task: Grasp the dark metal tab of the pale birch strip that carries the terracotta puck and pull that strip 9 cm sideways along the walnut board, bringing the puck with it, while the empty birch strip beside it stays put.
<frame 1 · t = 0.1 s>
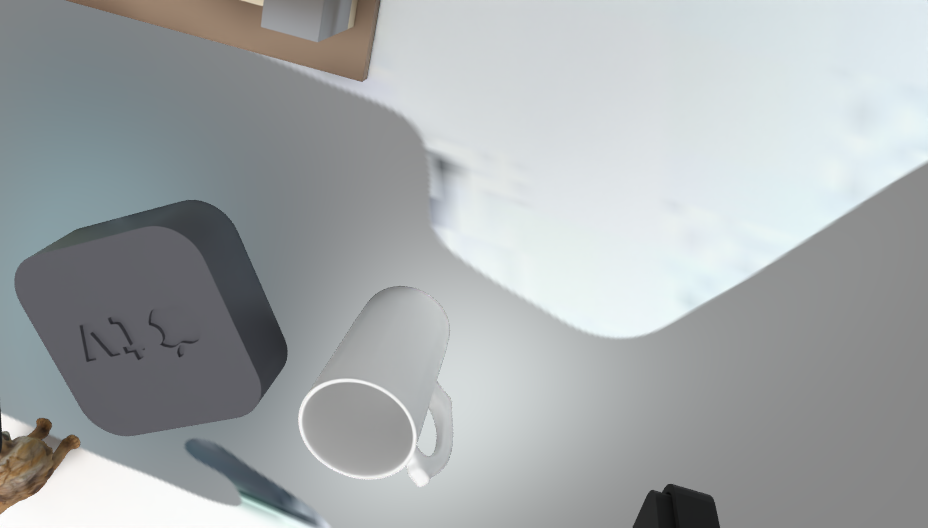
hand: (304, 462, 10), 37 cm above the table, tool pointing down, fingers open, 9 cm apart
mug: (421, 341, 53), on the table
streaming box: (178, 302, 55), on the table
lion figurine: (40, 442, 63), on the table
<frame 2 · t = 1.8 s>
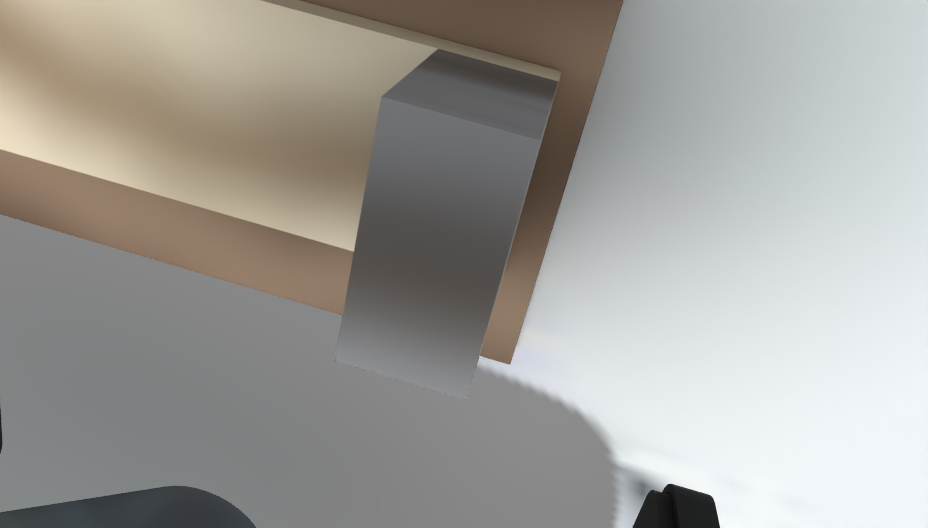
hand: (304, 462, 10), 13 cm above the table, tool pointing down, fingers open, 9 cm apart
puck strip: (81, 99, 18), point 4 cm above the table, slide at 0.0 cm, touching puck
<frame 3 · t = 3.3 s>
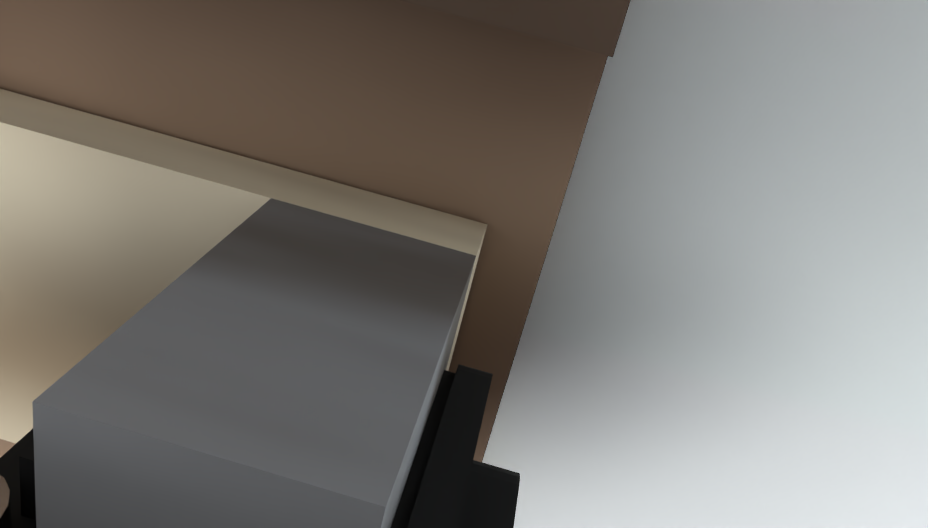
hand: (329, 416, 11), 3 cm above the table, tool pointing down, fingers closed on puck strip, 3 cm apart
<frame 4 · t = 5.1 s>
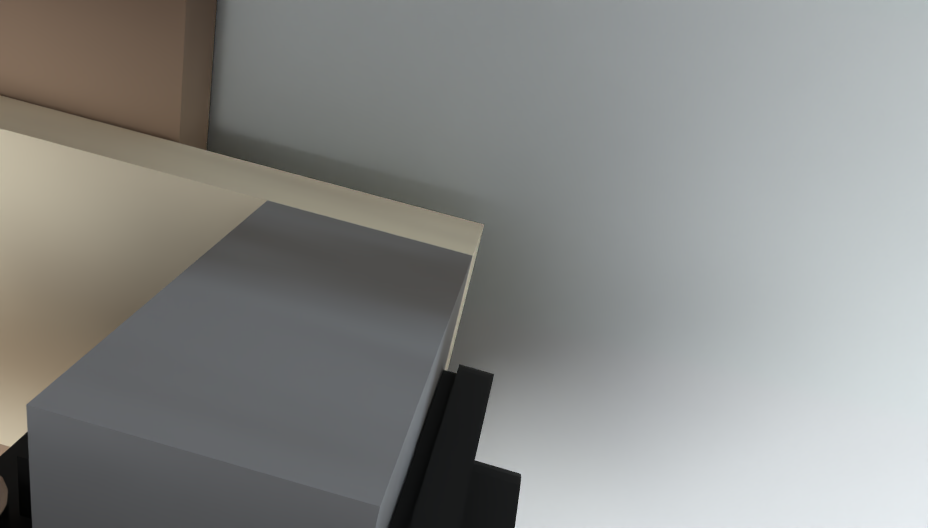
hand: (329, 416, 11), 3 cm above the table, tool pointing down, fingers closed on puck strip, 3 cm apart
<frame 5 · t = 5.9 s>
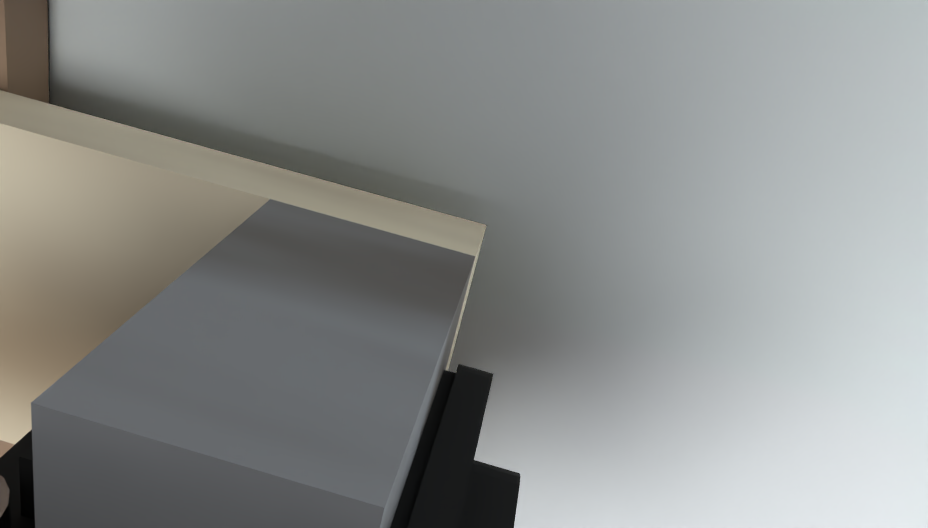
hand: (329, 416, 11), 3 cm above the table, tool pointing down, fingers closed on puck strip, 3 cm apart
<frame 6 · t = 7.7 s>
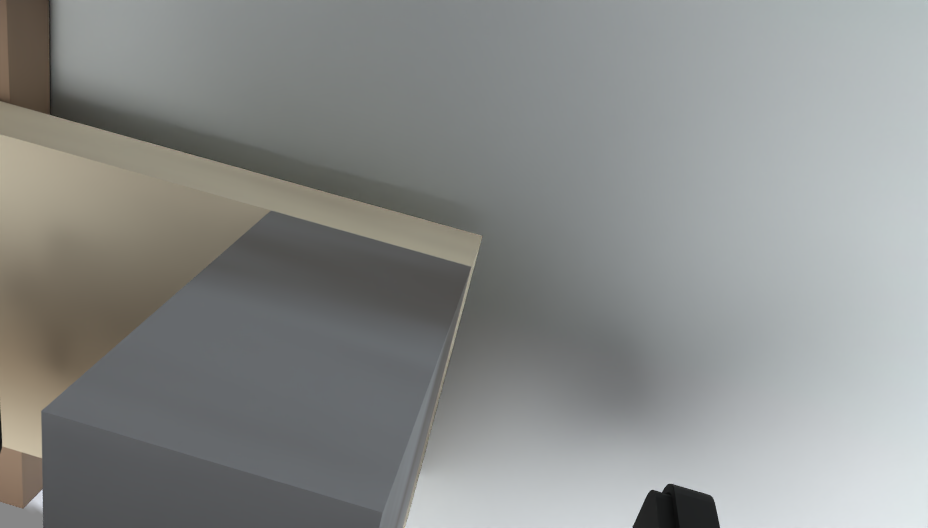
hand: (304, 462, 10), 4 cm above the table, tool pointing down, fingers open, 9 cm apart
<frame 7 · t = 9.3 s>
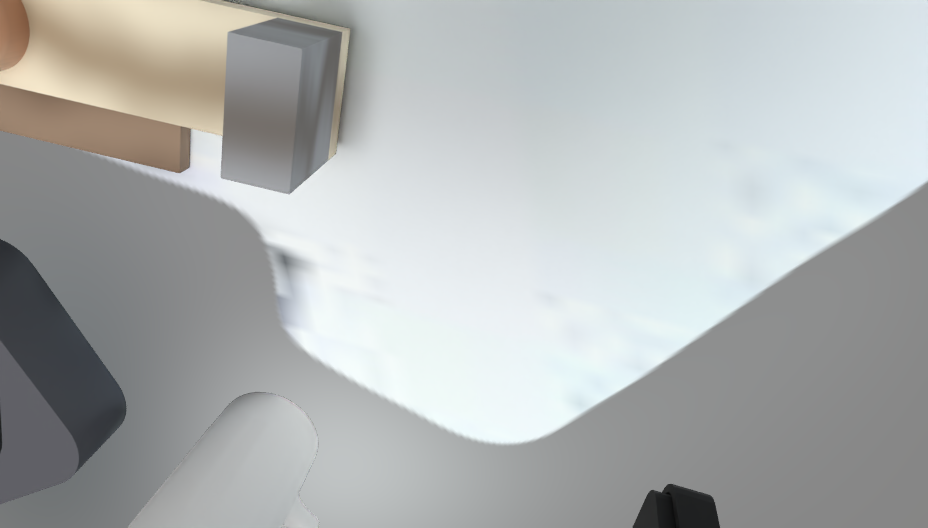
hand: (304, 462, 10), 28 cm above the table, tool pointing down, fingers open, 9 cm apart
mug: (290, 449, 47), on the table
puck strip: (84, 53, 33), point 4 cm above the table, slide at 9.1 cm, touching puck
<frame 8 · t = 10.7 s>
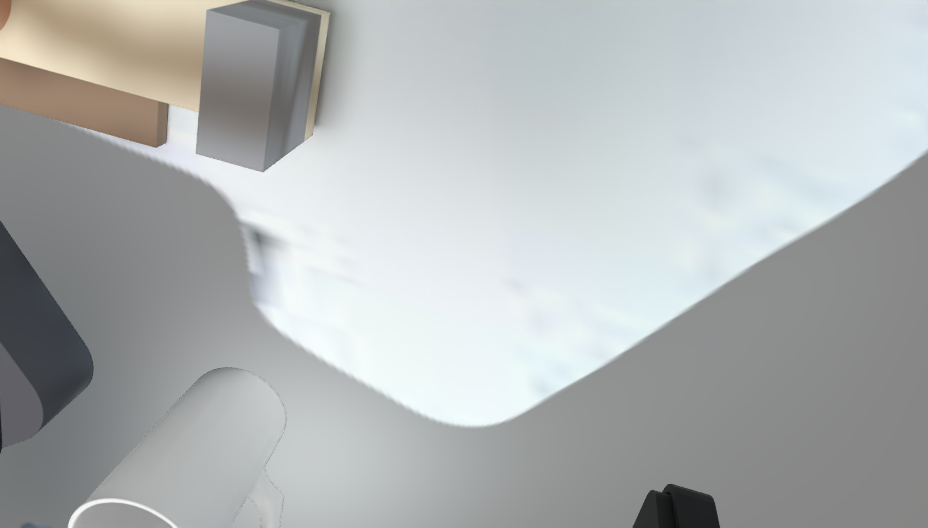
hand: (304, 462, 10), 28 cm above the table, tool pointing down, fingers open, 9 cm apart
mug: (258, 425, 47), on the table
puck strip: (65, 25, 34), point 4 cm above the table, slide at 9.2 cm, touching puck
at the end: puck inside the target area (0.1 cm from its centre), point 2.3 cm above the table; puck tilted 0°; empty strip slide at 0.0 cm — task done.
